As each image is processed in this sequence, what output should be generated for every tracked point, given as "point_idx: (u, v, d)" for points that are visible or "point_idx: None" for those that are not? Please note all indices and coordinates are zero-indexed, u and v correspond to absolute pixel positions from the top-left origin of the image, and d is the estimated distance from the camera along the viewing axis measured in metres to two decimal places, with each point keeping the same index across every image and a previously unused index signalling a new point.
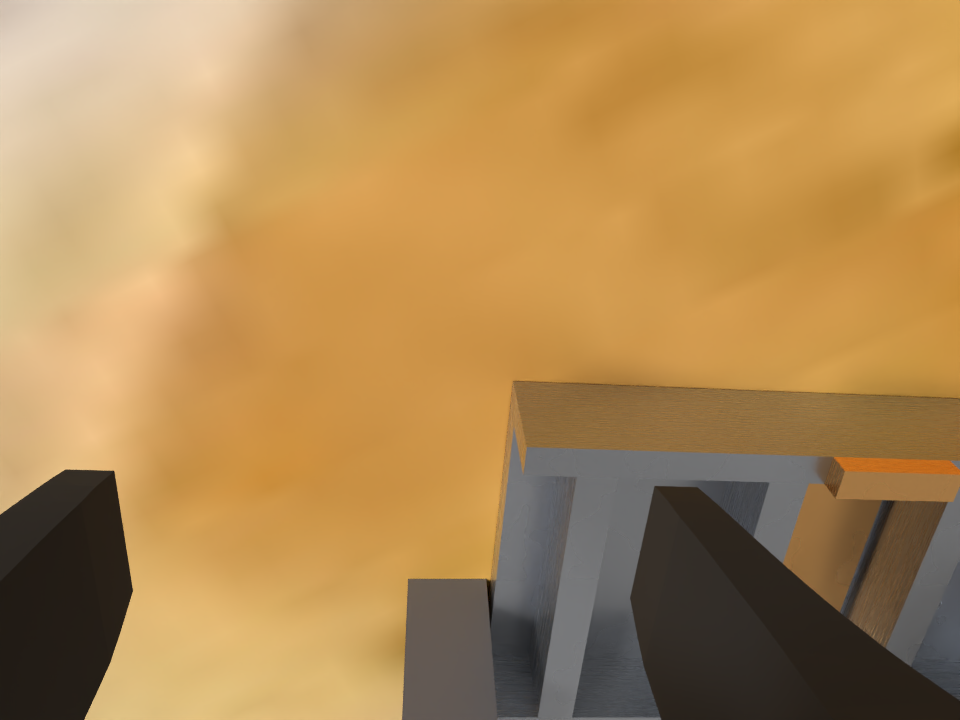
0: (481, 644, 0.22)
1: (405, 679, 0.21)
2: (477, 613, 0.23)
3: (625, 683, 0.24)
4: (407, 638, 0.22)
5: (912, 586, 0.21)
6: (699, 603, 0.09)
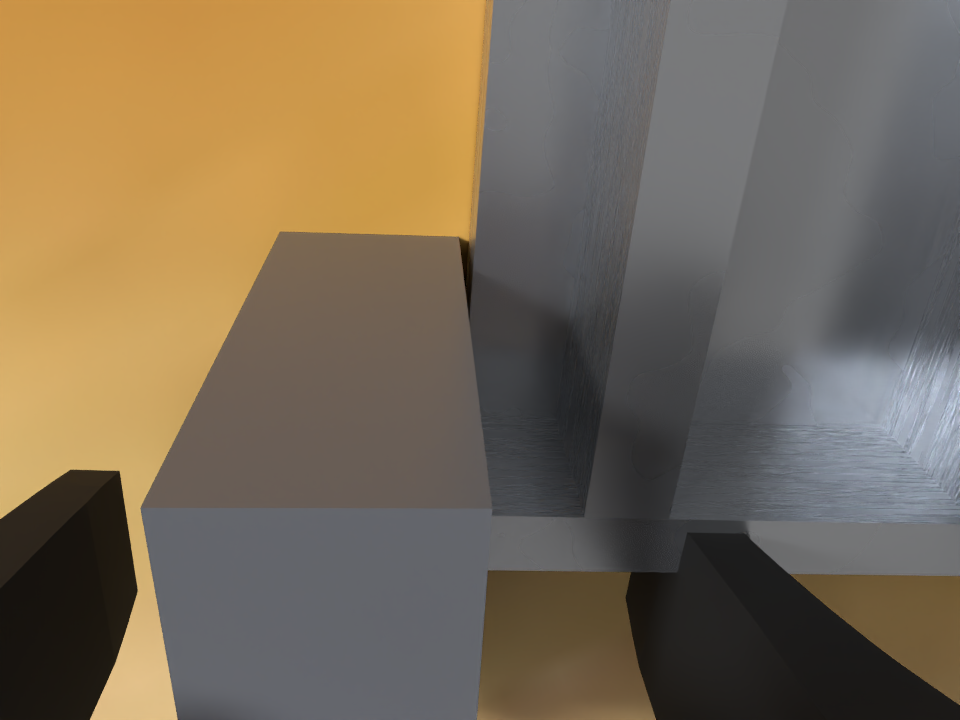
0: (440, 313, 0.09)
1: (218, 362, 0.07)
2: (435, 273, 0.10)
3: (781, 463, 0.10)
4: (249, 302, 0.09)
5: None
6: (694, 604, 0.09)
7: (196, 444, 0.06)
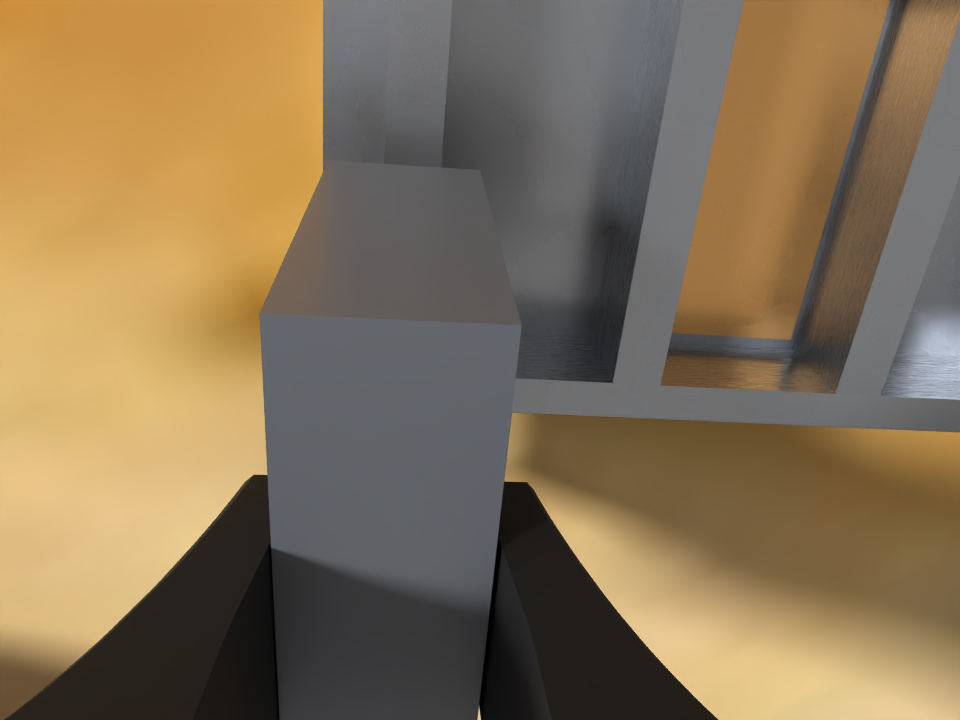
0: (470, 218, 0.10)
1: (297, 238, 0.09)
2: (463, 192, 0.11)
3: None
4: (313, 204, 0.10)
5: (918, 146, 0.14)
6: (497, 601, 0.09)
7: (291, 282, 0.08)
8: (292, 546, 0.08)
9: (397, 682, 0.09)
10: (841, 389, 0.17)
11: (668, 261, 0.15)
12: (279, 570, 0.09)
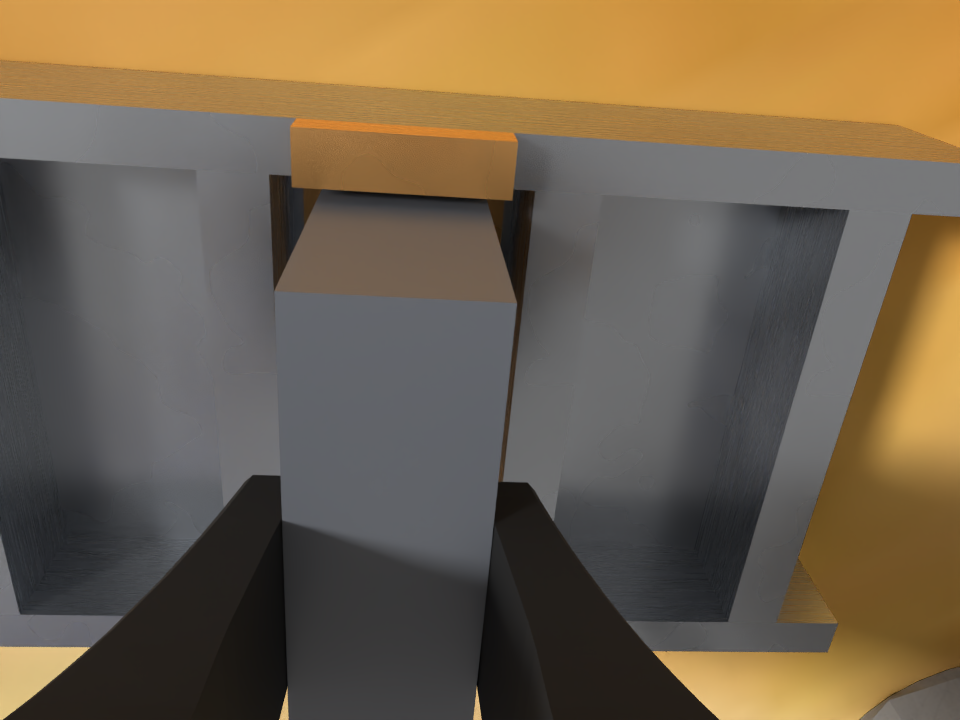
0: (469, 213, 0.11)
1: (306, 228, 0.10)
2: None
3: (145, 570, 0.16)
4: (320, 200, 0.11)
5: (514, 385, 0.13)
6: (498, 601, 0.09)
7: (303, 266, 0.09)
8: (302, 516, 0.09)
9: (400, 650, 0.10)
10: None
11: None
12: (289, 539, 0.09)
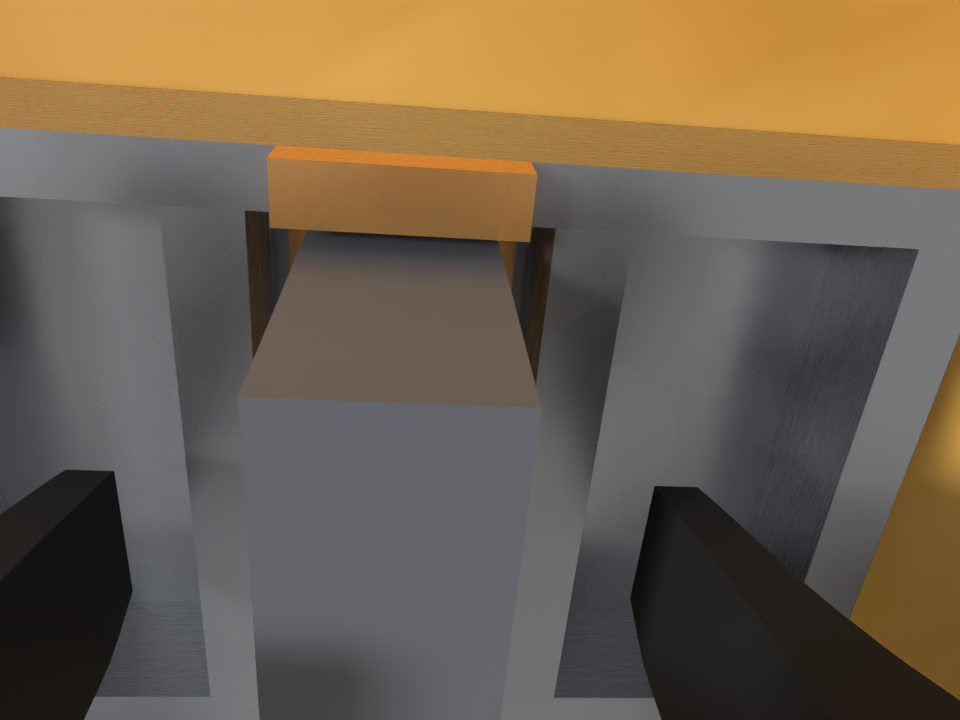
0: (479, 262, 0.09)
1: (285, 292, 0.08)
2: None
3: None
4: (304, 246, 0.09)
5: None
6: (699, 604, 0.09)
7: (277, 353, 0.07)
8: (279, 646, 0.07)
9: None
10: None
11: (241, 574, 0.12)
12: (264, 672, 0.08)
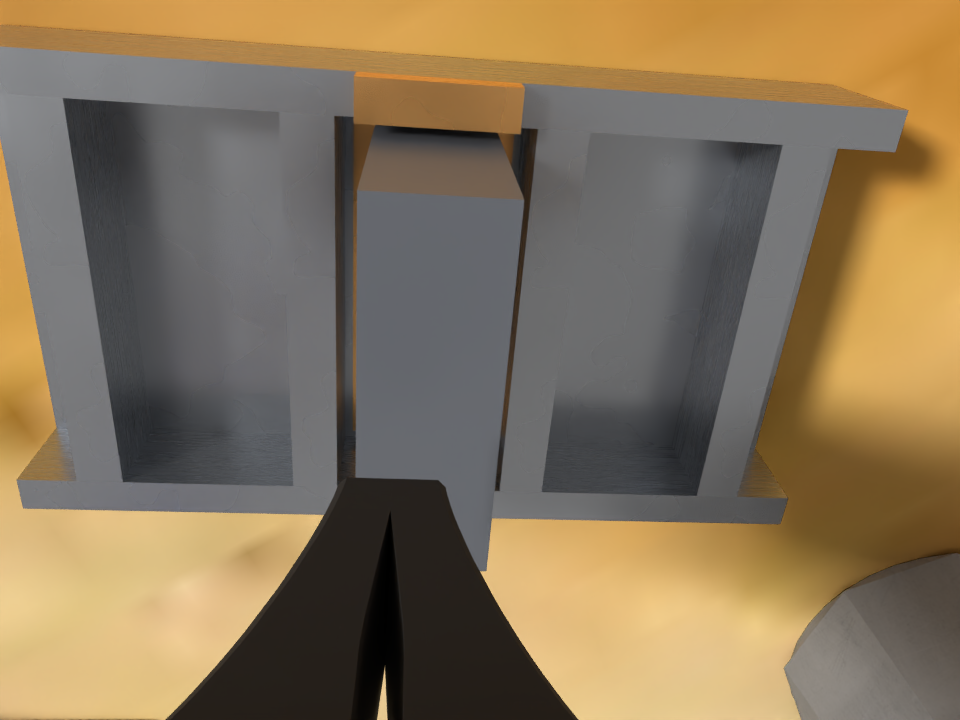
0: (487, 147, 0.14)
1: (369, 155, 0.13)
2: (481, 133, 0.15)
3: (218, 454, 0.19)
4: (374, 137, 0.14)
5: (522, 288, 0.17)
6: (393, 599, 0.09)
7: (373, 177, 0.12)
8: (370, 359, 0.13)
9: (438, 467, 0.14)
10: (503, 487, 0.19)
11: (319, 386, 0.17)
12: (360, 377, 0.13)
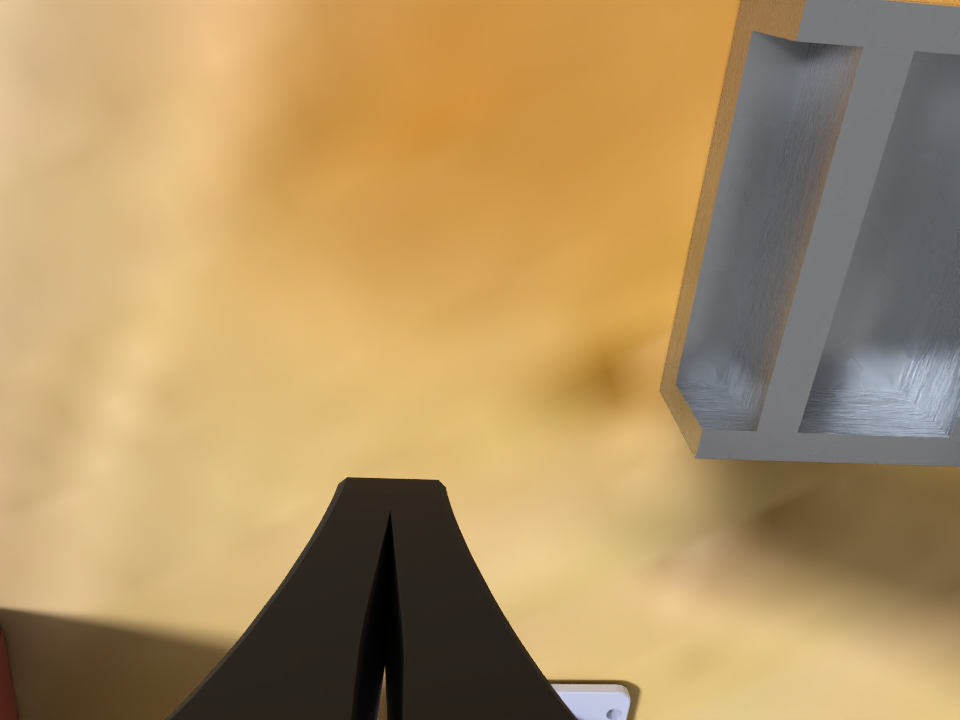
0: None
1: None
2: None
3: (848, 409, 0.20)
4: None
5: None
6: (393, 599, 0.09)
7: None
8: None
9: None
10: None
11: None
12: None
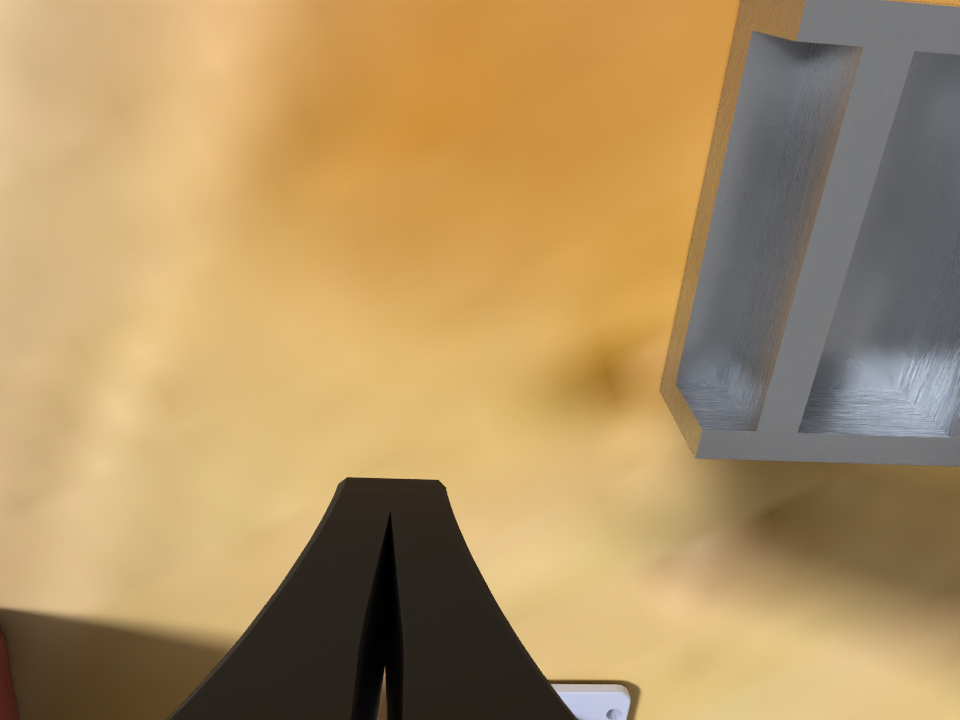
0: None
1: None
2: None
3: (848, 409, 0.20)
4: None
5: None
6: (393, 599, 0.09)
7: None
8: None
9: None
10: None
11: None
12: None
